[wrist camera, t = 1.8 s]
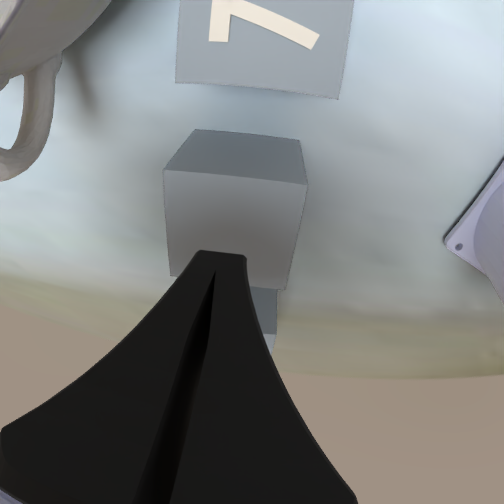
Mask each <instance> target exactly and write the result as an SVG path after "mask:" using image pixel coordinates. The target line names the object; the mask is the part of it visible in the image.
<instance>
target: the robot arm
mask: <svg viewBox="0 0 504 504" xmlns="http://www.w3.org/2000/svg"><path fill="white" fill-rule="evenodd" d="M444 243H445V246H446V247H447V249H448V250H450V251H451V252H453V253H454V254H456V255H457V256H459V257H460V258H462V259H463V260H465V261H466V262H468V263H469V264H471V265H472V266H474V267H475V268H476V269H478V270H479V271H481V272H482V273H484V274H485V275H486V276H488V278H489V279H490V281H491V283H492V285H493V286H494V288H495V290H496V292H497V294H498V295H499V297H500V299H501V301H502V303H503V305H504V161H503V163H502V164H501V165H500V167H499V168H498V170H497V171H496V173H495V174H494V176H493V177H492V178H491V180H490V181H489V183H488V184H487V185H486V187H485V188H484V189H483V191H482V192H481V194H480V195H479V196H478V198H477V199H476V200H475V201H474V203H473V204H472V205H471V207H470V208H469V209H468V211H467V212H466V213H465V214H464V216H463V217H462V218H461V219H460V221H459V222H458V223H457V224H456V226H455V227H454V228H453V229H452V230H451V232H450V233H449V234H448V235H447V236H446V238H445V241H444ZM459 243H460V244H459ZM457 244H459V245H458V246H456V245H457ZM0 504H358V502H357V498H356V496H355V494H354V493H353V491H352V490H351V489H350V487H349V486H348V485H347V484H346V482H345V481H344V480H343V479H342V477H341V476H340V475H339V473H338V472H337V471H336V469H335V468H334V466H333V465H332V464H331V462H330V461H329V460H328V458H327V457H326V455H325V454H324V452H323V451H322V449H321V448H320V446H319V445H318V443H317V442H316V440H315V439H314V437H313V436H312V434H311V432H310V431H309V429H308V427H307V425H306V424H305V422H304V420H303V419H302V417H301V415H300V413H299V412H298V410H297V408H296V407H295V405H294V403H293V401H292V399H291V397H290V395H289V394H288V391H287V389H286V387H285V385H284V383H283V381H282V379H281V377H280V375H279V373H278V370H277V368H276V366H275V364H274V361H273V359H272V357H271V354H270V352H269V349H268V347H267V344H266V341H265V338H264V336H263V333H262V330H261V327H260V324H259V321H258V318H257V314H256V310H255V307H254V303H253V300H252V295H251V291H250V286H249V281H248V274H247V258H246V257H245V256H244V255H242V254H233V253H225V252H216V251H208V250H199V251H197V252H196V253H195V255H194V256H193V258H192V259H191V261H190V262H189V263H188V265H187V266H186V268H185V269H184V270H183V272H182V273H181V274H180V276H179V277H178V278H177V279H176V281H175V282H174V283H173V284H172V286H171V287H170V288H169V289H168V291H167V292H166V293H165V294H164V295H163V297H162V298H161V299H160V300H159V301H158V303H157V304H156V305H155V306H154V307H153V308H152V309H151V310H150V311H149V313H148V314H147V315H146V316H145V317H144V318H143V319H142V320H141V321H140V322H139V323H138V325H137V326H136V327H135V328H134V329H133V330H132V331H131V332H130V333H129V334H128V335H127V336H126V337H125V338H124V339H123V340H122V341H121V342H120V343H118V344H117V345H116V346H115V347H114V348H113V349H112V350H111V351H110V352H109V353H108V354H107V355H105V356H104V357H103V358H102V359H101V360H100V361H99V362H97V363H96V364H95V365H94V366H93V367H91V368H90V369H89V370H88V371H87V372H85V373H84V374H83V375H82V376H80V377H79V378H78V379H77V380H75V381H74V382H72V383H71V384H70V385H68V386H67V387H66V388H64V389H63V390H61V391H60V392H59V393H57V394H56V395H54V396H53V397H52V398H50V399H49V400H48V401H46V402H44V403H43V404H42V405H40V406H38V407H37V408H35V409H33V410H32V411H30V412H28V413H27V414H25V415H23V416H22V417H20V418H18V419H16V420H15V421H13V422H11V423H9V424H8V425H6V426H4V427H3V428H2V430H1V432H0Z"/></svg>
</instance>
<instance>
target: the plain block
mask: <svg viewBox="0 0 504 504" xmlns="http://www.w3.org/2000/svg"><path fill="white" fill-rule="evenodd" d="M163 183H164V202H165V218H166V232H167V244H168V256H169V266H170V276H175V277H179V276H180V274H181V273H182V272H183V270H184V269H185V268H186V266H187V265H188V263H189V262H190V261H191V259H192V258H193V256H194V255H195V253H196V252H197V251H199V250H208V251H216V252H225V253H233V254H242V255H244V256H245V257H246V258H247V274H248V281H249V286H253V287H261V288H270V289H279V290H285V288H286V284H287V279H288V275H289V271H290V266H291V262H292V258H293V253H294V249H295V244H296V240H297V235H298V231H299V226H300V221H301V217H302V212H303V207H304V203H305V198H306V193H307V188H308V182H307V177H306V172H305V166H304V161H303V156H302V151H301V146H300V141H299V140H295V139H288V138H280V137H272V136H264V135H256V134H246V133H236V132H225V131H212V130H198V129H195V130H194V131H193V132H192V134H191V135H190V136H189V137H188V139H187V140H186V141H185V142H184V144H183V145H182V146H181V147H180V149H179V150H178V151H177V152H176V154H175V155H174V156H173V157H172V159H171V160H170V161H169V163H168V164H167V165H166V167H165V168H164V169H163Z"/></svg>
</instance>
